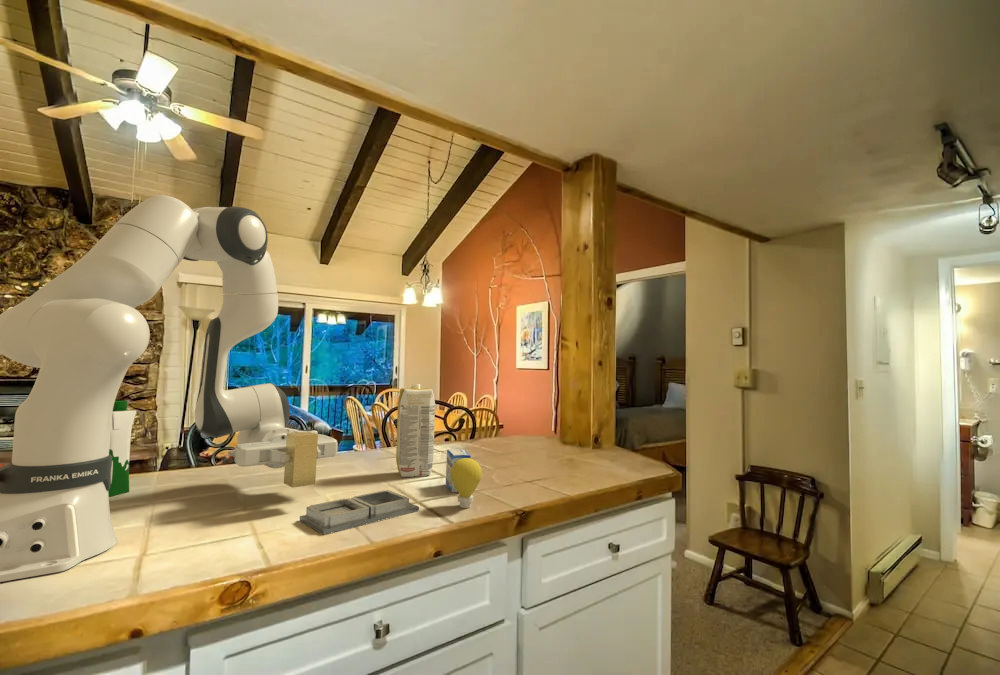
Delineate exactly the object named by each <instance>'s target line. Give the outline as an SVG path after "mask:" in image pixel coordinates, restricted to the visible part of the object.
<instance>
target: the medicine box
mask: <svg viewBox="0 0 1000 675" xmlns="http://www.w3.org/2000/svg"><path fill="white" fill-rule="evenodd" d="M463 458H470V459H472V456H471V455H470V454H469V452H468V451H466V450H465V449H463V448H448V449H446V464H445V466H446V470H445V485H446V486H447V487H448V489H449V490H450V491H451V493H452V494H453V493H454V492H455V493H458V491H457V489H456V488H455V486H454V484H453V482H452V480H451V477H450V472H451V469H452V467H453V465H454V464H455V462H457V461H458V460H460V459H463Z"/></svg>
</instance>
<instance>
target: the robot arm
mask: <svg viewBox="0 0 1000 675" xmlns="http://www.w3.org/2000/svg"><path fill="white" fill-rule="evenodd" d="M268 237H269V236H268V230H267V226H266V225H265V222H264V221H263V219H262V218H261V216H260V215H259V214H258V213H257V212H256V211H254V210H252V209H249V208H248V207H246V208H245V207H241V206H233V205H232V206H228V207H227V206H226V207H225V206H214V207H213V206H204V207H196V208H191V207H190V206H189V205H188V204H186V203H185V202H184V201H182V200H181V199H179V198H177V197H174V196H172V195H166V194H155V195H152V196H150V197H148V198H147V199H145V200H143V201H141V202H140V203H139V204H137V205H136V206H134V207H133V208H131V209H130V210H129V211H128V212H126V214H124V215H123V216H122V217H121V218H119V219H118V221H116V222H115V223H114V225H113V226H112V227H111V228H110V229H109V230H108V231H107V232H106V233H105V234H104V235H102V237H101V238H100V239H99V240H98V241H97V242H96V243H95V244H94V245H93V246H92V247H91V248H90V250H88V252H87V253H85V255H83V256H82V257H81V258H80V259H79V260H78V261H77V262H75V263H74V264H72V265H71V266H70V267H68V268H67V269H66V270H64V271H63V272H61V273H60V274H58V275H57V276H56V277H54V278H52V279H51V280H50V281H49V282H47V283H46V284H44V285H43V286H42V287H40V288H39V289H38V290H36V291H35V292H34V293H33V294H31V295H30V296H29V297H27V298H26V299H24V300H23V301H21V302H19V303H18V304H16V305H14V306H12V307H11V308H8V309H6V310H4V311H3V312H2V313H0V354H1V355H2V356H4V357H5V358H7V359H10V360H12V361H14V362H15V363H19V364H22V365H24V366H27V367H32V368H37V369H39V370H38V374H37V377H36V379H35V382H34V385H33V387H32V389H31V390H30V393H29V394H28V396H27V398H26V399H25V400H24V401H23V402H22V403H20V405H19V406H18V407H17V409H16V411H15V415H14V426H13V438H12V441H13V442H12V453H11V454H12V455H11V456H12V457H11V462H10V463H9V462H8V463H7V464H4V463H0V583H1V582H3V583H4V582H7V581H13V580H20V579H25V578H30V577H37V576H44V575H49V574H55V573H59V572H60V573H61V572H63V571H67V570H69V569H71V568H73V567H74V566H76V565H78V564H79V563H81V562H83V561H85V560H86V559H89V558H92V557H94V556H97V555H99V554H101V553H104V552H105V551H107V550H109V549H111V548H112V547H113V546H115V545H116V543H117V542H118V539H117V536H116V532H115V530H114V526H113V521H112V517H111V516H112V515H111V508H110V497H109V493H108V490H109V489H110V485H111V484H112V472H113V461H112V456H111V454H109V447H110V433H111V422H112V412H113V406H114V403H115V401H116V399H117V395H118V393H119V390H120V389H121V388H120V387H121V385H122V383H123V380H124V378H125V376H126V375H127V372H128V371H129V369H130V367H131V366H132V364H134V362H136V361H137V359H139V358H140V357H142V355H143V354H144V352H145V351H146V350H147V348H148V346H149V342H150V336H151V335H150V334H151V333H150V332H151V331H150V326H149V324H148V322H147V320H146V318H145V317H144V316H143V314H142V313H140V311H139V310H138V309H136V308H137V307H138V306H141V305H143V304H145V303H146V302H148V301H150V300H151V299H153V297H154V296H155V295H156V294H157V293H158V291H159V290H160V289H161V288H162V286H163V285H164V284H165V282H166V281H167V280H168V279H169V277H170V276H171V274H173V273H174V271H175V270H176V269H177V267H178V266H179V265H180V263H182V260H186V261H191V262H197V261H198V262H199V261H201V262H202V261H203V262H204V261H205V262H216V264H217V265H218V267H219V269H220V270H221V274H222V305H221V309H220V311H219V313H218V315H217V316H216V317H214V318H213V319H211V320H210V321H209V322H208V324H207V325H208V326H207V329H206V333H205V336H204V337H205V339H204V344H203V351H202V362H201V371H200V380H199V389H198V393H197V399H196V404H195V409H194V421H195V422H194V423H195V425H196V428H197V430H198V431H199V432H201V433H202V434H203V435H206V436H208V437H209V438H210V437H211V438H214V439H218V438H222V437H224V436H228V435H232V434H234V433H237V432H238V434H237V437H236V438H237V440H236V442H237V445H235V448H234V449H231V450H228V452H227V455H228V456H230V457H234V463H235V464H236V465H237V466H239V467H245V468H246V467H253V466H254V467H255V466H266V467H267V468H270V469H282V468H285V462H291V457H292V454H291V453H290V452H286V437H287V433H298V432H312V433H315V434H318V442H317V460H318V459H319V460H320V459H324V458H334V457H336V456H337V454H338V445H339V444H338V440H337V439H335V438H334V437H332V436H328V435H326V434H320V433H319V432H318V430H313V429H294V428H290V427H287V426H288V423H289V422H290V421H289V420H290V408H291V407H290V403H289V399H288V397H287V395H286V393H285V392H284V391H283V390H282V389H281V388H280V387H279V386H278V385H276V384H274V383H273V382H269V383H268V382H267V383H262V384H255V385H249V386H245V387H238V388H233V389H224V385H225V377H226V368H227V367H226V366H227V360H228V355H229V353H230V351H231V350H232V349H233V347H235V346H236V345H237V344H239V343H240V342H243V341H244V340H246V339H248V338H250V337H253V336H255V335H257V334H259V333H261V332H263V331H265V329H267V328H268V327H270V326H271V325H272V324H273V323H274V322H275V320H276V318H277V316H278V313H279V293H278V284H277V278H276V276H277V275H276V273H275V272H276V271H275V267H274V263H273V261H272V257H271V254H270V253H269V251H267V248H268V241H269V240H268Z"/></svg>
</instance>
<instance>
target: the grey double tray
mask: <svg viewBox="0 0 1000 675" xmlns="http://www.w3.org/2000/svg"><path fill="white" fill-rule="evenodd" d="M305 509H306V510H305V513H306V514H304V515H303V514H302V515H300V516H299V521H300V522H302V523H303V524H305V526H306V525H307V526H308V527H309V528H311V527H312V528H311V529H313V530H314V529H315V531H316V530H317V531H316V532H318V531H319V532H320V534H321V533H322V534H326V535H328V534H327V533H330V534H332V533H331V532H334V533H336V532H335V531H338V532H341V530H342V531H344V530H345V529H346V530H349V529H352V527H353V528H356V526H357V527H360V525H361V526H364V525H363V524H365V525H367V524H366V523H369V524H371V523H370V522H373V523H375V522H374V521H377V522H379V521H378V520H381V521H383V520H382V519H385V520H387V519H386V518H389V519H391V518H390V517H392V518H396V517H400V516H404V515H407V513H408V514H411V513H415V511H416V512H419V511H420V506H419V505H415V504H413V503H411V502H410V498H409V497H407V496H404V495H402V494H400V493H397V492H394V491H392V490H389V489H387V490H380V491H374V492H369V493H366V494H365V493H364V494H359V495H355V496H353V497H351V498H350V497H349V498H340V499H335V500H331V501H325V502H322V503H316V504H311V505H309V506H306V508H305ZM418 510H419V511H418ZM403 514H404V515H403ZM399 515H400V516H399ZM395 516H396V517H395ZM348 528H349V529H348ZM319 532H318V533H319ZM322 534H321V535H322Z"/></svg>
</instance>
